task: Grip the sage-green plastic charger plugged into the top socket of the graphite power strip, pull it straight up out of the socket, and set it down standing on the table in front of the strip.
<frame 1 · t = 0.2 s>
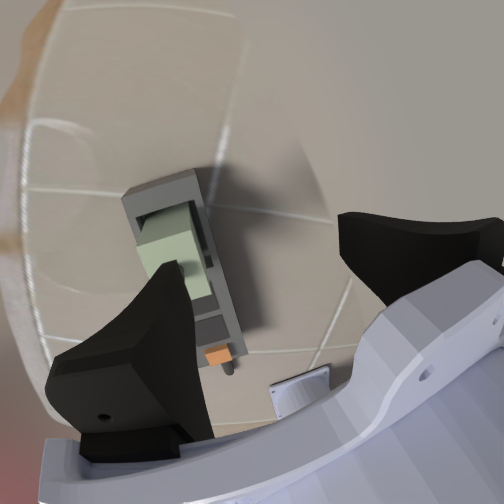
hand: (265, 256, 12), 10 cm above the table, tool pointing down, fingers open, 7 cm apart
charger: (175, 232, 20), point 1 cm above the table, touching power strip
power strip: (191, 272, 22), on the table
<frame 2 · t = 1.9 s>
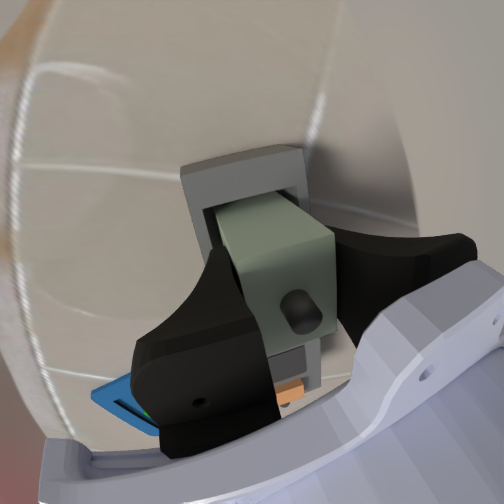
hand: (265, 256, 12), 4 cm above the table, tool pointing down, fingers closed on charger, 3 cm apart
charger: (250, 234, 14), point 1 cm above the table, touching gripper, power strip
power strip: (259, 288, 17), on the table
handheld gaming device: (186, 384, 20), on the table
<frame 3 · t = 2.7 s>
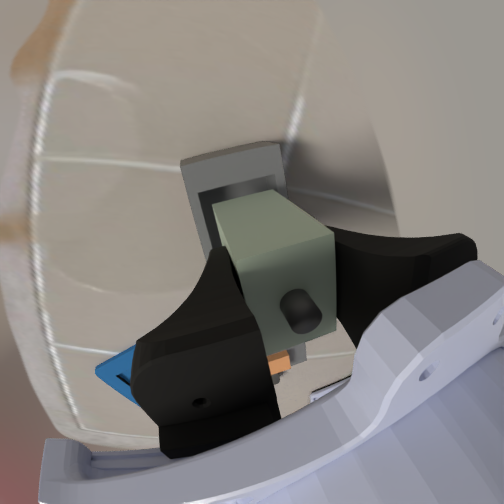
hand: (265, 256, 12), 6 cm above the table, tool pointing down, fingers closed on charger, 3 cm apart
charger: (250, 234, 14), point 4 cm above the table, touching gripper
power strip: (248, 266, 19), on the table
handheld gaming device: (184, 359, 22), on the table
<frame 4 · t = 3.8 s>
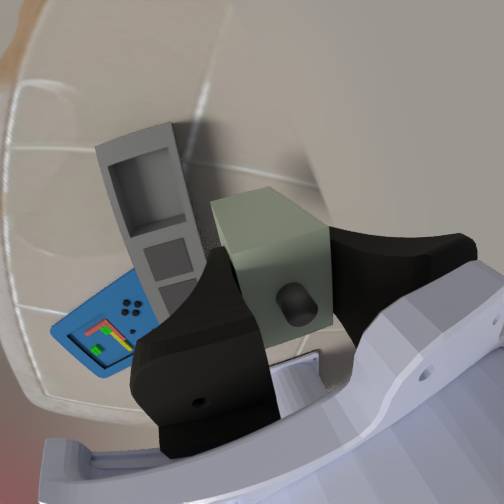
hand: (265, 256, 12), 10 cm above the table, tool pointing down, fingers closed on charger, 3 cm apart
charger: (248, 230, 14), point 7 cm above the table, touching gripper
power strip: (166, 234, 21), on the table
handheld gaming device: (123, 323, 24), on the table
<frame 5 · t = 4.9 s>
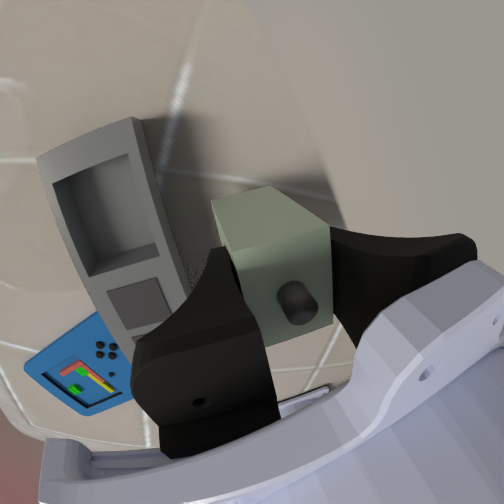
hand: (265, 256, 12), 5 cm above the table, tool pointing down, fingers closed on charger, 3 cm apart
charger: (248, 230, 14), point 2 cm above the table, touching gripper
power strip: (140, 265, 16), on the table
handheld gaming device: (101, 363, 19), on the table
when the fingers open (4 cm above the table, at t = 5.9 s): charger stays where it is, on the table.
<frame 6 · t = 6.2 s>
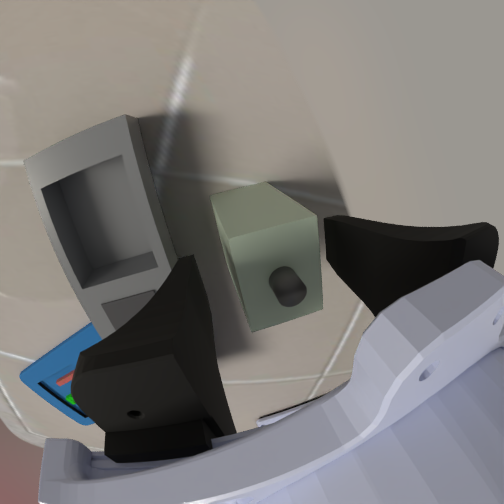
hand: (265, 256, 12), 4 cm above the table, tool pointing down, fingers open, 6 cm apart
charger: (245, 223, 15), on the table
power strip: (137, 274, 15), on the table
handheld gaming device: (98, 373, 18), on the table
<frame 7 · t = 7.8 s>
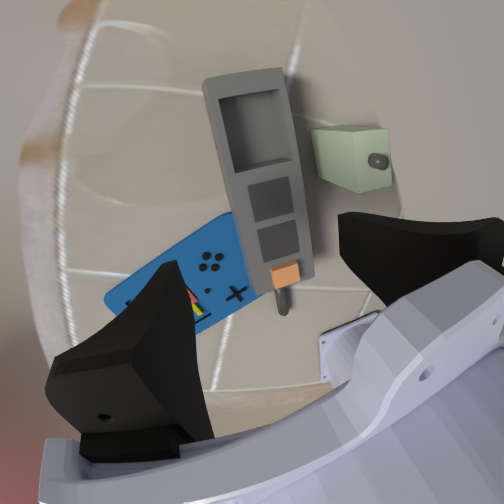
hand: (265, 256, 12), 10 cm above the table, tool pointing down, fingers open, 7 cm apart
charger: (329, 150, 21), on the table
power strip: (257, 180, 21), on the table
handheld gaming device: (194, 283, 24), on the table
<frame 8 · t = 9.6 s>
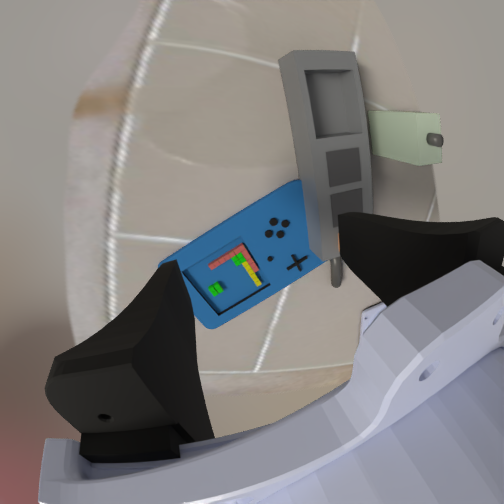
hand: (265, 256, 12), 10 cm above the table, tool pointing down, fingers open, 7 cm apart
charger: (382, 131, 21), on the table
power strip: (323, 151, 21), on the table
handheld gaming device: (255, 252, 24), on the table
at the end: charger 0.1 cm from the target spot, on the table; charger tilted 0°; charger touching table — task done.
